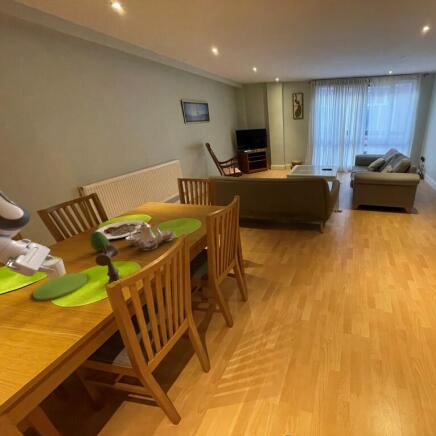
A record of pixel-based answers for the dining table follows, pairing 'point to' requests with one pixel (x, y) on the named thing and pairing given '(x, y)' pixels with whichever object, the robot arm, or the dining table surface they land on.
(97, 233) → the avocado
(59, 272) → the shot glass
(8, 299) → the dining table surface
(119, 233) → the plated food
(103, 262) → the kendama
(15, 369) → the dining table surface
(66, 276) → the placemat
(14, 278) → the dining table surface
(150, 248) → the chinaware
